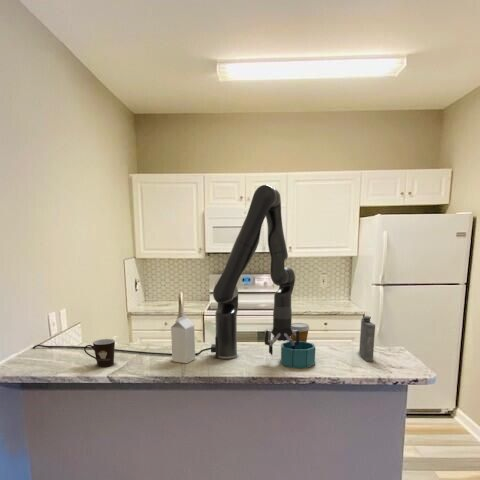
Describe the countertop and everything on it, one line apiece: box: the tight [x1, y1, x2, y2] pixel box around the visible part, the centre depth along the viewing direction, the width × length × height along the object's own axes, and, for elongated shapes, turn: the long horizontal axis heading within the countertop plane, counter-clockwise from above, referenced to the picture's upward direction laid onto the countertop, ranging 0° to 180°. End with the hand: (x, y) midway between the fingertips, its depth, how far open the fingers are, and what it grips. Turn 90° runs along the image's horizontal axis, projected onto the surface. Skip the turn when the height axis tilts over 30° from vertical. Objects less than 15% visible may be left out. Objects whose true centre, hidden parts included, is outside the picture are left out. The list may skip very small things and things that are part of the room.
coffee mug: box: [83, 338, 116, 368], centre depth 167 cm, size 12×9×10 cm
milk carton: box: [170, 315, 196, 364], centre depth 172 cm, size 7×7×19 cm
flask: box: [358, 315, 376, 363], centre depth 176 cm, size 4×14×18 cm, turn 177°
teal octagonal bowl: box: [280, 340, 316, 369], centre depth 169 cm, size 14×14×8 cm
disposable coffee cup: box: [290, 322, 310, 342], centre depth 187 cm, size 10×10×12 cm
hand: (281, 354), depth 169 cm, fingers open, 8 cm apart
